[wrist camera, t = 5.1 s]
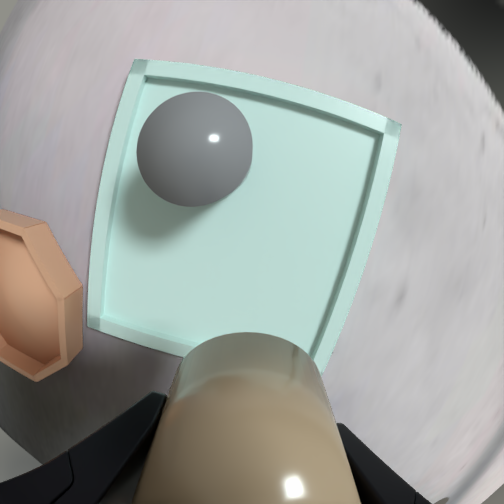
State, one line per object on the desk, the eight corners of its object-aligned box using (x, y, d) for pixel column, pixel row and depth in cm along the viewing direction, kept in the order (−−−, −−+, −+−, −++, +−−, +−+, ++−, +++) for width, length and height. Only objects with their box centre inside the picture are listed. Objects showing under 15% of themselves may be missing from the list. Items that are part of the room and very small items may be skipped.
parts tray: (392, 127, 16) (401, 124, 14) (314, 373, 19) (318, 383, 18) (141, 65, 15) (134, 58, 13) (94, 319, 18) (87, 326, 17)
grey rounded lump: (261, 127, 15) (265, 104, 10) (240, 208, 16) (235, 219, 11) (181, 111, 15) (153, 84, 10) (161, 189, 16) (125, 193, 11)
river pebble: (344, 347, 8) (411, 485, 3) (294, 446, 9) (310, 561, 4) (185, 314, 8) (119, 463, 3) (168, 423, 9) (134, 542, 4)
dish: (86, 233, 17) (66, 241, 15) (85, 383, 20) (72, 400, 17) (-21, 201, 16) (-41, 205, 14) (-13, 330, 19) (-28, 341, 17)
